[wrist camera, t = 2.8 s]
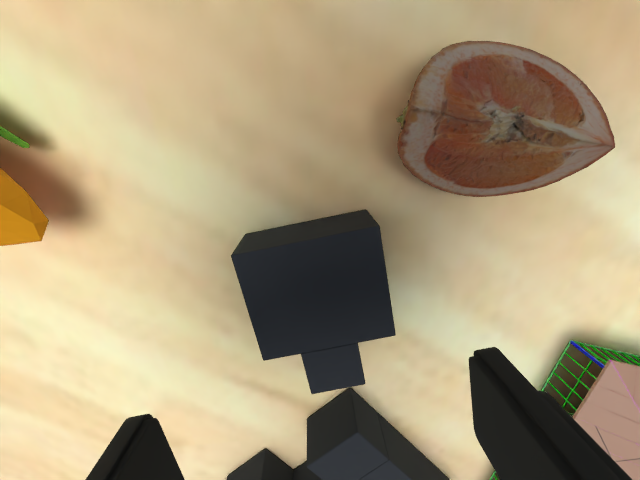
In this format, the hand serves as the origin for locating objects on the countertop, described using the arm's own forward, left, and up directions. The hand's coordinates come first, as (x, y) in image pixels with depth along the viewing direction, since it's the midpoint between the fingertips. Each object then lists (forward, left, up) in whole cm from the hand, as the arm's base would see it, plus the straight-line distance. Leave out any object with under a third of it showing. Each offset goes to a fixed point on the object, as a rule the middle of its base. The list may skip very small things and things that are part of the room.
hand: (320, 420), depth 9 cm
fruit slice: (-11, -1, -10) cm, 15 cm away
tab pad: (0, +1, -10) cm, 10 cm away
